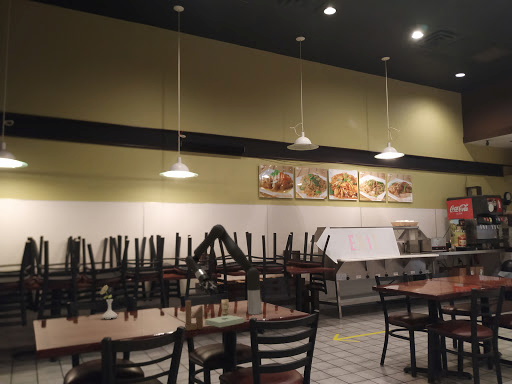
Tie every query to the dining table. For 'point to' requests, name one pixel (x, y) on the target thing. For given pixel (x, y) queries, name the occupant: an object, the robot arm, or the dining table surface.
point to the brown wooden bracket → (197, 315)
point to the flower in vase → (109, 312)
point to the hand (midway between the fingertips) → (213, 293)
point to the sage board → (224, 321)
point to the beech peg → (225, 306)
